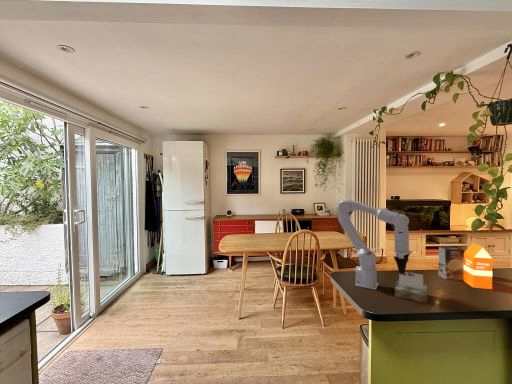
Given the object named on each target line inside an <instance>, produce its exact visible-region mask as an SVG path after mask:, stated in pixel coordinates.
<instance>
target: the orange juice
mask: <svg viewBox="0 0 512 384" xmlns="http://www.w3.org/2000/svg"><path fill="white" fill-rule="evenodd" d="M463 282H464V283H466V284H467V285H469V286H470V287H472V288H475V289H476V288H477V289H487V290H493V258H492V257H491V255H490V254H489V252H488V251H487V249H485V248H484V246H482V245H479V244H476V243H474V242H472V244H470V246H469V247H468V248H467V249H466V250H465V251H464V280H463Z"/></svg>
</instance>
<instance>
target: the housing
mask: <svg viewBox="0 0 512 384" xmlns="http://www.w3.org/2000/svg"><path fill="white" fill-rule="evenodd" d="M398 273H399V272H398ZM398 281H399V287H405V288H410V289H416V290H421V291H423V285H424V274H420V273H415V272H413V271H405V273H399V274H398Z"/></svg>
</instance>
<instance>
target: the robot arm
mask: <svg viewBox="0 0 512 384" xmlns="http://www.w3.org/2000/svg"><path fill="white" fill-rule="evenodd" d="M336 210H337V219H338V222H339V224H340V226H341V227H342V229H343V230H344V233H345V234H346V236H347V237H348V239H349V240H350V243H352V246H353V247H354V249H355V251H356V253H357V258H358V260H359V265H356V268H355V284H354V285H355V287H361V288H366V289H371V290H377V288H378V286H379V283H378V282H377V281H378V280H377V276H378V275H377V271H378V270H377V267H378V266H376V264H377V263H378V257H377V255H376V254H375V253H374V252H372V250H371V249H370V247H367V245H366V243H365V242H364V240H363V238H362V237H361V236H360V235H361V234H360V233H359V232H358V231H357V229H356V228H355V226H354V224H353V222H352V221H351V217H352V214H353V212H357V211H360V212H364V213H366V214H370V215H372V216H375V217H376V218H377V220H379V221H382V222H384V223H388V224H390V225H393V227H394V231H393V233H394V234H393V235H394V253H395V256H394V257H393V259H394V261H395V263H396V266H397V270H398V273H405V272H406V268H407V264H408V262H409V259H410V258H409V256H410V254H413V251H412V250H410V238H409V237H410V235H409V234H410V232H409V226H408V225H409V223H410V220H409V217H408V216H407V215H405V214H403V213H400V212H398V211H397V212H396V211H392V210H389V208H387V207H385V208H379V209H378V208H375V207H373V206H371V205H368V204H365V203H362V202H360V201H357V200H353V199H347V200H341V201H340V202H338V205H337V207H336Z"/></svg>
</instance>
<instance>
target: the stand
mask: <svg viewBox="0 0 512 384" xmlns="http://www.w3.org/2000/svg"><path fill="white" fill-rule="evenodd" d="M394 297H395V298H399V299H404V300H405V299H406V300H410V301H415V302H419V303H424V304H428V285H424V284H423V291H421V290H416V289H410V288H405V287H399V280H396V283H395V286H394Z"/></svg>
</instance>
